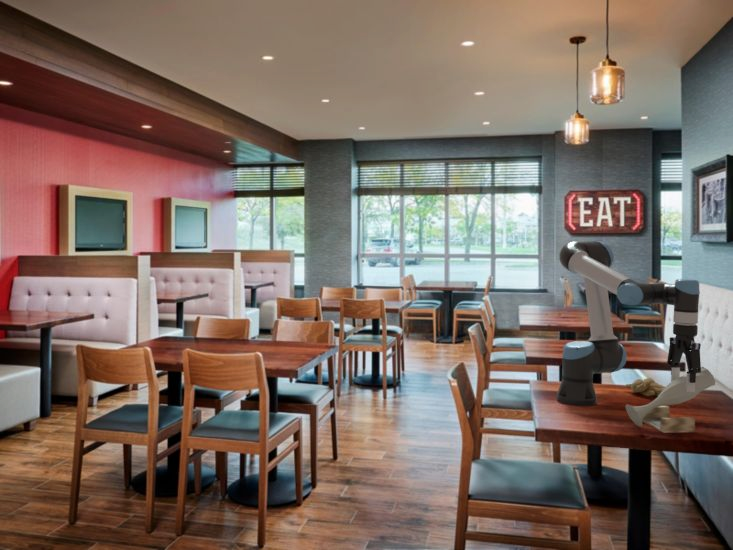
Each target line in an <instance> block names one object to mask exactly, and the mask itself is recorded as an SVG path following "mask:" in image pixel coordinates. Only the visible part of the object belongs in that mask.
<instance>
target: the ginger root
mask: <svg viewBox="0 0 733 550" xmlns="http://www.w3.org/2000/svg"><path fill="white" fill-rule="evenodd" d="M625 387H626V388H628V389H631V392H632V393H634V394H637V393H639V394H641V395H643V396H644V397H658V396H659V394H660V393H661V392H662V390H663V389H664V388H665V387H666V386H664V385H663V384H659V383H657V382H656V381H655V380H654V379H653V378H651V377H647V378H644V379H640V378H638V379H635V380H634V381H633V382H632V383H627V384H625Z"/></svg>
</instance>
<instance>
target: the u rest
mask: <svg viewBox="0 0 733 550" xmlns="http://www.w3.org/2000/svg"><path fill="white" fill-rule="evenodd" d="M670 409H671V407H670V406H669V405H663V406H659V407H656V408H654V409H652V410H651V411H649V412H648V413H647V414H646V415H645V416H644V418H643V420H642V423H645V424H646V425H648V426H651V427H652V428H654V429H655V430H657V431H659V432H661V433H664V434H667V433H668V434H670V433H673V434H674V433H675V434H676V433H695V426H696V418H694V417H692V416H676V417H675V416H674V417H671V416H670V413H671V412H670Z"/></svg>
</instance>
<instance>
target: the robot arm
mask: <svg viewBox="0 0 733 550" xmlns="http://www.w3.org/2000/svg"><path fill="white" fill-rule="evenodd" d="M559 262H560V264H561V265H562V267H563V268H565V269H566V270H567V271H569V272H571V273H573V274H579V277H581V278H582V279H583V282H584V283H583V284H584V289H585V290H584V291H585V298H586V305H587V307H586V308H587V314H588V322H589V323H588V324H589V328H590V329H589V330H590V337H589V338H588V340H576V341H570V342H566V343H565V344H564V345H563V347H562V353H561V355H562V357H561V358H562V369H561V382H560V385H559V387H558V390H557V393H556V400H557V401H558V402H560V403H563V404H566V405H571V406H583V407H584V406H593V405H597V401H598V397H597V393H596V389H595V386H594V382H593V381H594V375H595V374H610V373H611V374H612V373H615V372H618V371H621V370H623V367H624V366H625V365H626V363H627V358H628V355H627V350H626V348H625V347H624V346H623V344H621V343H620V342H619V338H618V337H617V336H616V335H615V334H614V330H613V323H612V313H611V307H610V306H611V305H610V298H609V292H610V293H612V294H615V295H616V297H617V299H618V301H619V302H620V303H621V304H622V305H625V306H639V305H640V306H642V305H668V306H669V305H670V306H673V317H672V318H673V319H672V320H673V325H672V334H673V335H675V337H672V336H671V337H669V348H668V355H667V360H666V363H667V365H669V366H670V367H671V368H670V376H671V377H670V382H672V381H673V380H675V379H677V378H679V377H681V376H680V373H681V365H680V362H681V360H682V357H683V355H684V356H685V360H686V361H685V362H686V366H687V370H688V371H686V375H687V378H686V392H695V382H696V373H700V372H701V367H702V365H701V364H702V363H701V343H698V342H695V341H696V340H695V337H697V336H698V328H699V327H698V326H699V325H697V324H699V302H700V282H699V280H697V279H691V278H689V279H687V278H686V279H685V278H677V279H675V281H674V283H666V282H665V283H664V282H661V281H660V282H657V281H655V282H653V281H652V282H649V283H646V282H644V283H643V282H642V283H640V282H637V281H635V280H633V279H632V278H629V277H628V276H626V275H625V274H622V273H620V272H618V271H616V270H614V269H613V268H611V267H612V266H613V263H614V253H613V249H612V248H611V247H610V246H609V244H607V243H605V242H603V241H597V240H596V241H595V240H594V241H578V240H575V241H570V242H567V243H566V244H565V245H563V246H562V247H561V249H560V252H559ZM608 291H609V292H608Z"/></svg>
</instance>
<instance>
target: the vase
mask: <svg viewBox="0 0 733 550" xmlns="http://www.w3.org/2000/svg"><path fill="white" fill-rule="evenodd" d="M686 378H687V374H685V375H683V376H680V377H679V378H677V379H675V380H673V381H672V382H671V381H670V382H669V383H668V384H667V385H666V386H664V387H665V388H664V389H663V390H662V392H661V393H660V394H659V396H656V398H655V399H653V400H652V401H651V402H649V403H647V404H644V405H639V406H638V405H637V406H633V405H630V404H628V403H626V405H624V406H625V410H626V413H627V414H628V416H629V418H630V420H632V422H633V423H634V424H635V425H636V426H638V427H640V428H641V427H643V421H642V420H643V418H644V416H645V415H646V414H647V413H648V412H649V411H651V410H652V409H654V408H656V407H659V406H673V405H680V404H682V403H685V402H688V401H690V400H692V399H693V398H695V397H696V396H697V395H699V394H700V393H701V392H702V391H704V390H706V389H709V388H711V387H713V386H715V385H716V380H715V378H714V375H713V374H712V372H711V371H709V369H708V368H707V367H704V366H701V372H700V373H696V382H695V392H686Z"/></svg>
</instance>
